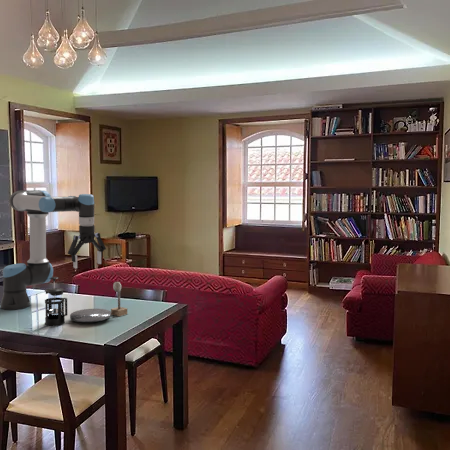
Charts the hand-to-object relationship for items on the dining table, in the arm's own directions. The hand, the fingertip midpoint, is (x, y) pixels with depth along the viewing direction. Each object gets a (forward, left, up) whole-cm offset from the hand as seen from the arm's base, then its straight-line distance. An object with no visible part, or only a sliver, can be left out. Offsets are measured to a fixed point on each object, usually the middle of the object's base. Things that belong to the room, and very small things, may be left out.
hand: (87, 265), depth 242 cm
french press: (-3, -17, -27) cm, 32 cm away
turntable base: (+6, -3, -27) cm, 27 cm away
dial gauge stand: (+9, +13, -27) cm, 31 cm away
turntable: (+6, -3, -25) cm, 26 cm away
